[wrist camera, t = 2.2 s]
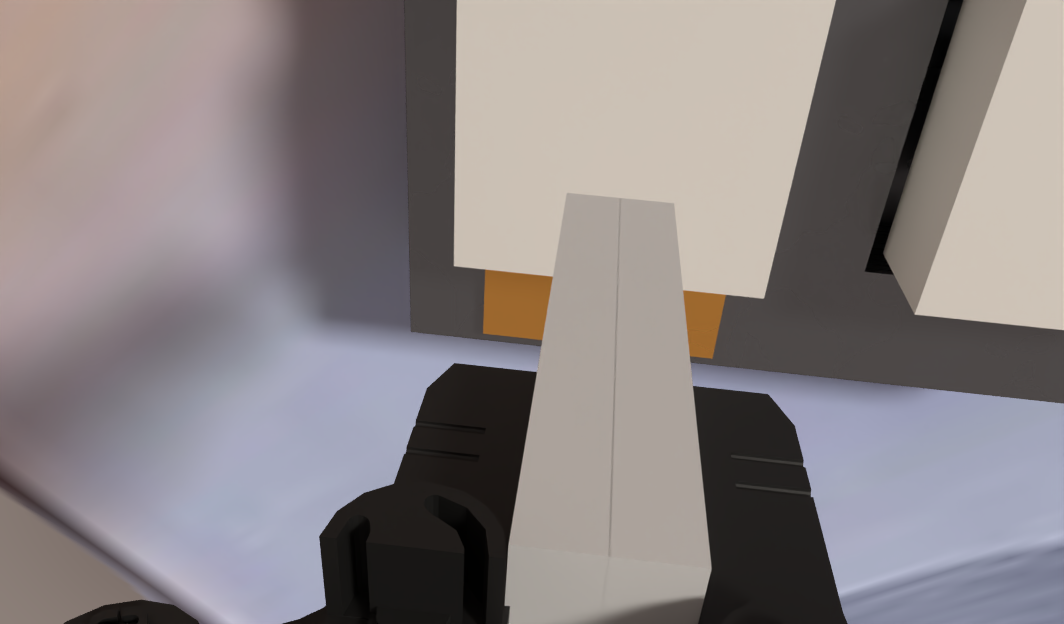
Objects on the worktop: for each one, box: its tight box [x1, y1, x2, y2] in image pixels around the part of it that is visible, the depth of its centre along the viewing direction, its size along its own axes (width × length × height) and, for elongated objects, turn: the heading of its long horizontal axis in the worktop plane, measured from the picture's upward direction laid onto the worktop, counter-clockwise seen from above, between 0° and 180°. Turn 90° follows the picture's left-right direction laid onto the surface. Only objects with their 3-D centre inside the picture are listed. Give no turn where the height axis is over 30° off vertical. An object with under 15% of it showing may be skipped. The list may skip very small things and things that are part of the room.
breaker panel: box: [404, 0, 1064, 403], centre depth 21 cm, size 14×20×5 cm
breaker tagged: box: [454, 0, 836, 299], centre depth 18 cm, size 7×7×3 cm
